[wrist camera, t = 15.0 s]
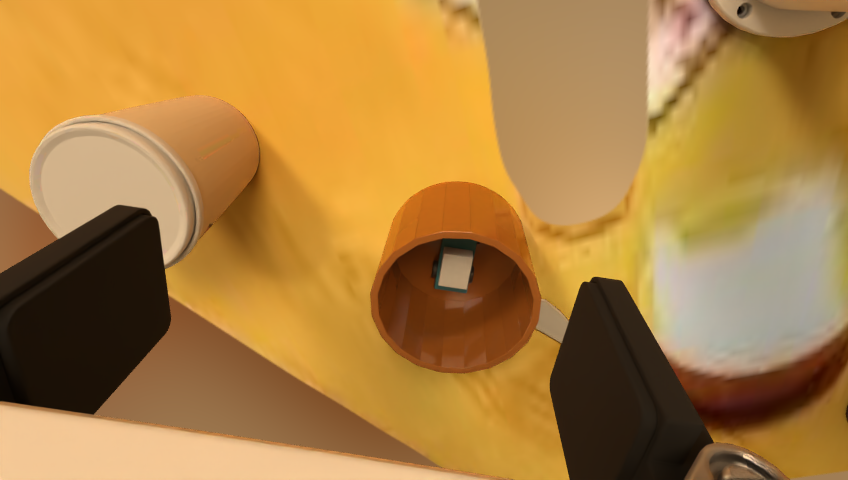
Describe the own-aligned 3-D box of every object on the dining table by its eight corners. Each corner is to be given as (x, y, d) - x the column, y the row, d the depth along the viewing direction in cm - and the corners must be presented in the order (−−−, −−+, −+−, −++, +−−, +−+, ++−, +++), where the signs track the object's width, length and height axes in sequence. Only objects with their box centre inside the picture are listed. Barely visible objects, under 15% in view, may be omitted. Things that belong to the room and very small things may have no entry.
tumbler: (530, 182, 37) (549, 233, 29) (518, 303, 41) (532, 376, 33) (386, 179, 37) (365, 229, 29) (391, 299, 42) (375, 369, 34)
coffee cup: (162, 197, 39) (51, 271, 29) (139, 78, 35) (-3, 112, 24) (275, 207, 39) (205, 285, 28) (265, 87, 35) (178, 126, 24)
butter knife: (541, 293, 40) (516, 314, 41) (718, 437, 46) (692, 453, 47) (541, 290, 40) (516, 311, 42) (716, 434, 46) (690, 449, 47)
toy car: (470, 280, 40) (471, 302, 37) (431, 274, 40) (428, 296, 37) (483, 220, 38) (484, 238, 35) (441, 213, 38) (439, 231, 35)
